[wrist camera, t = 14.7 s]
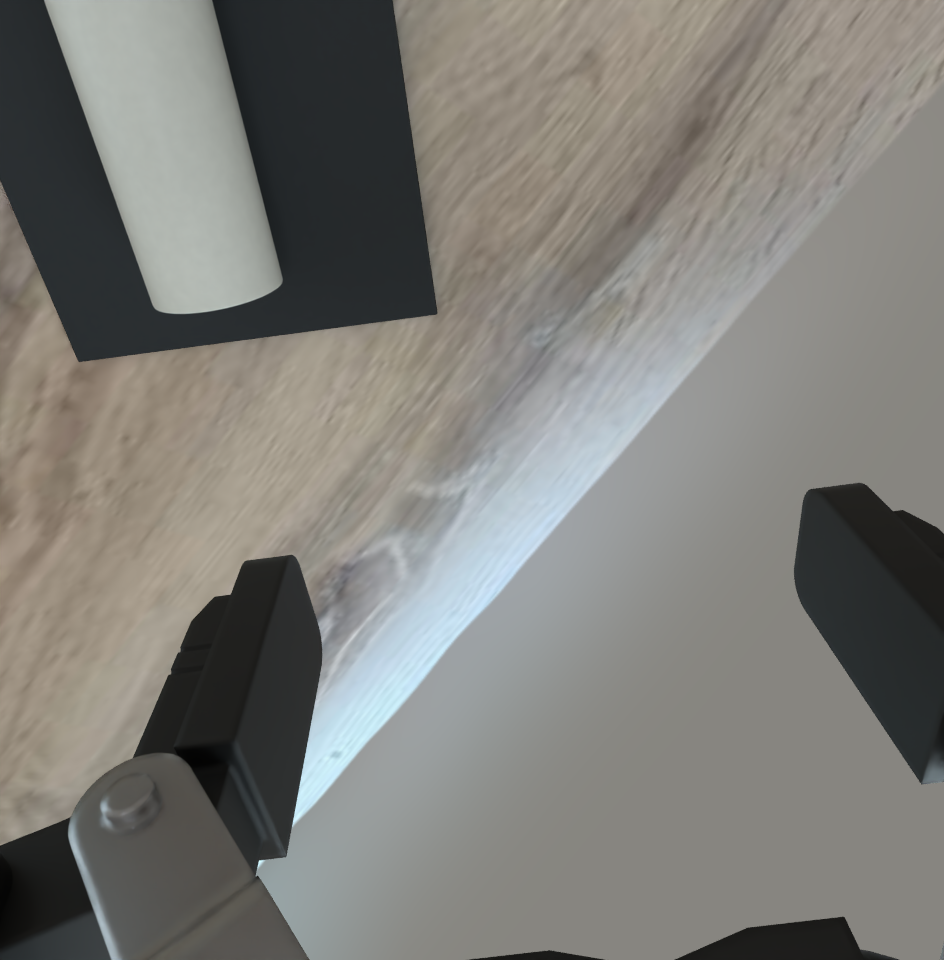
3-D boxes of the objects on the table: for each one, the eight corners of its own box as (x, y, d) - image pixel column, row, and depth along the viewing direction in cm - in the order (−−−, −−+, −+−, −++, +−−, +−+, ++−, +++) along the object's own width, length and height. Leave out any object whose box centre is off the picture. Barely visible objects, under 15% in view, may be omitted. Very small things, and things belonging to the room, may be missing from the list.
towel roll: (203, -121, 26) (136, -154, 21) (298, 272, 34) (263, 311, 29) (59, -98, 27) (-38, -125, 22) (184, 284, 34) (132, 324, 30)
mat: (437, 310, 36) (437, 314, 36) (82, 357, 36) (78, 362, 36) (359, -232, 26) (357, -237, 25) (-139, -164, 26) (-151, -168, 25)
